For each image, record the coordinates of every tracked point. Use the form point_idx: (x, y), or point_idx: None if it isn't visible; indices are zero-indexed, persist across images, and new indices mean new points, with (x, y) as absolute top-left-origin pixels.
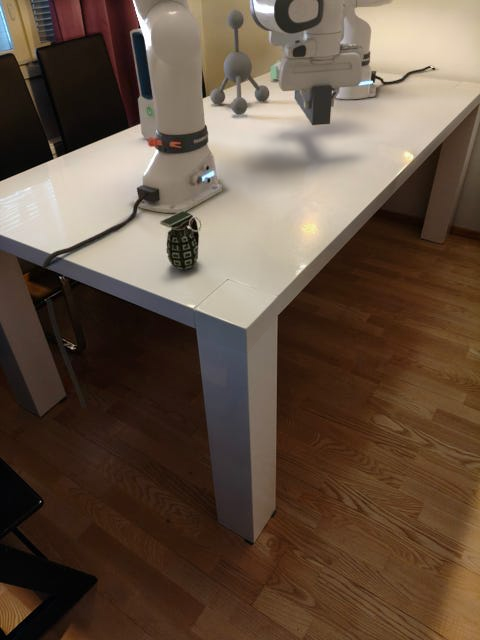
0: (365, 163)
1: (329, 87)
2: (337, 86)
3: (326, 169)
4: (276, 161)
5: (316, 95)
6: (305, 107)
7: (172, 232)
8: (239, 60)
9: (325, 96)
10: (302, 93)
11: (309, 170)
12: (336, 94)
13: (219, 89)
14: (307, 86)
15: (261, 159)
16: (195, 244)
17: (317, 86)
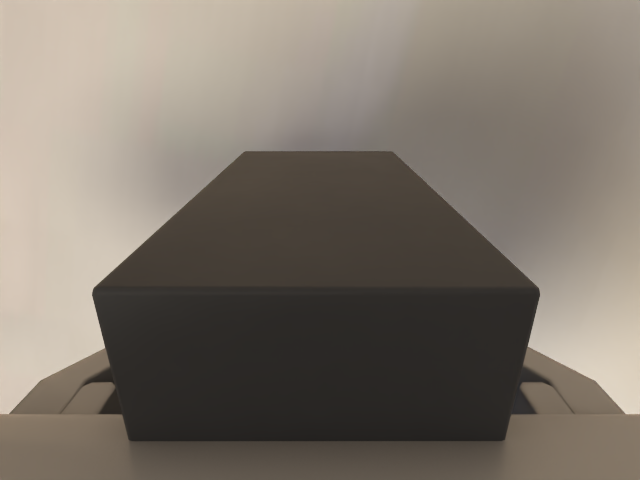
0: (93, 91)
1: (159, 295)
2: (3, 419)
3: (295, 47)
4: (499, 204)
5: (428, 231)
6: None
7: None
8: None
9: (269, 222)
10: (587, 394)
11: (381, 51)
12: (93, 362)
13: None
14: (612, 447)
15: (554, 241)
16: None
17: (401, 427)
